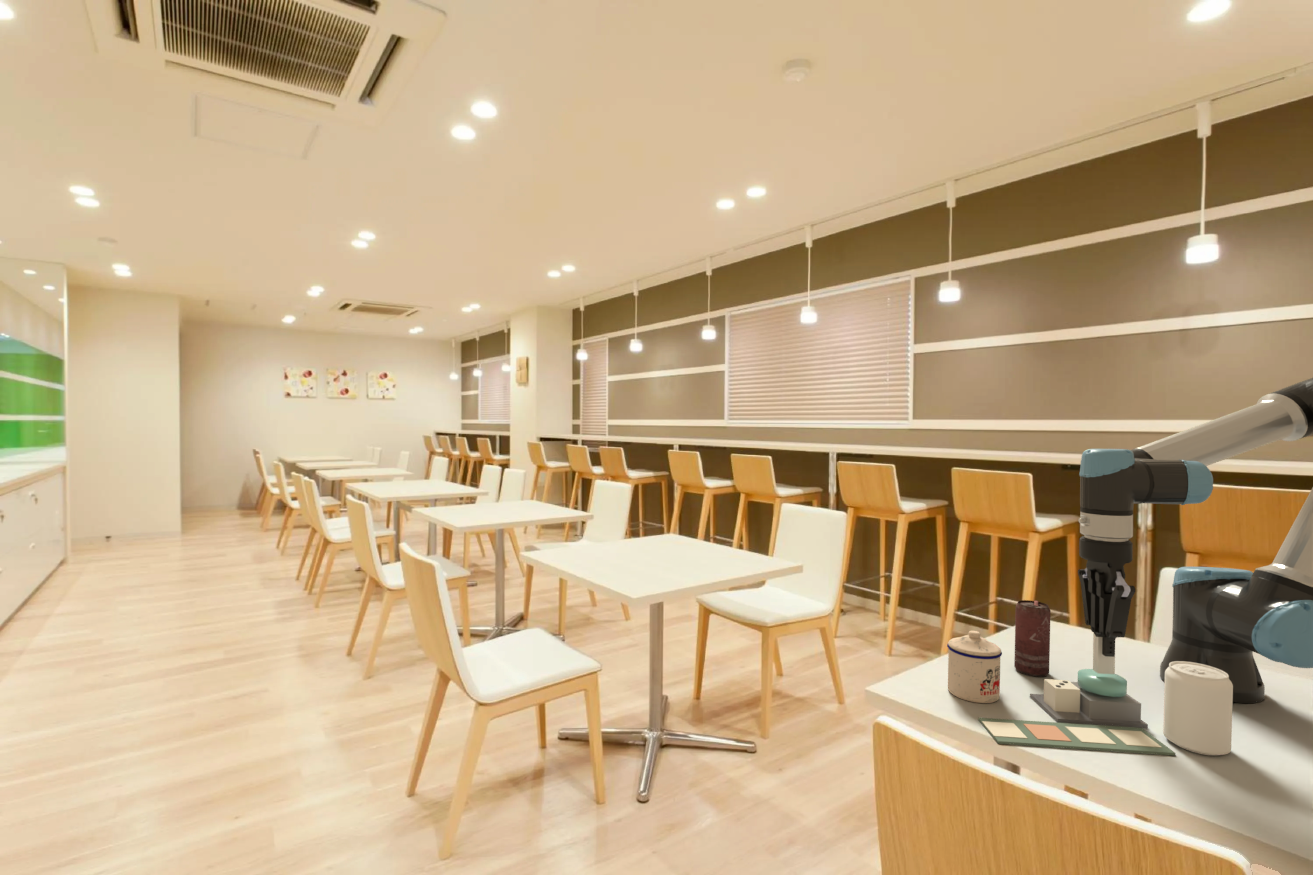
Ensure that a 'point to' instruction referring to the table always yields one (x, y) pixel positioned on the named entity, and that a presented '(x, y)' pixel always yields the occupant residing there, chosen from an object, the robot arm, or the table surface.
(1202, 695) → the beverage can
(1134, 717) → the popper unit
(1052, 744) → the track
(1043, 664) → the can
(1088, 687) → the dome cap
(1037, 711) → the table surface
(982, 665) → the teacup with lid
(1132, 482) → the robot arm
